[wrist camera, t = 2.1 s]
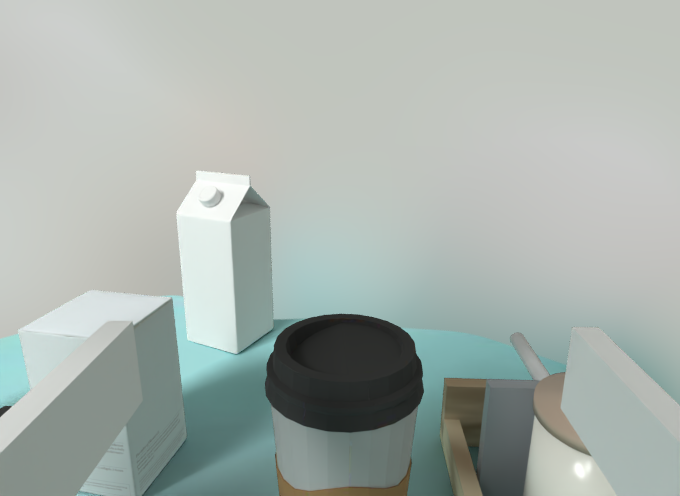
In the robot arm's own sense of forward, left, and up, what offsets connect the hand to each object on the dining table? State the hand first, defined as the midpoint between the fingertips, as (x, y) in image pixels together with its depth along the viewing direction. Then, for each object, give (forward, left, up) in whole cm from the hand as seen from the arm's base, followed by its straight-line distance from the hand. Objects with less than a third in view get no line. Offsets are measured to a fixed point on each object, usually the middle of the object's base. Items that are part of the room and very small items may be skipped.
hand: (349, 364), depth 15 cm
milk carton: (+32, +27, -20) cm, 46 cm away
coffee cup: (+9, +4, -20) cm, 22 cm away
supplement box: (+11, +23, -20) cm, 32 cm away
